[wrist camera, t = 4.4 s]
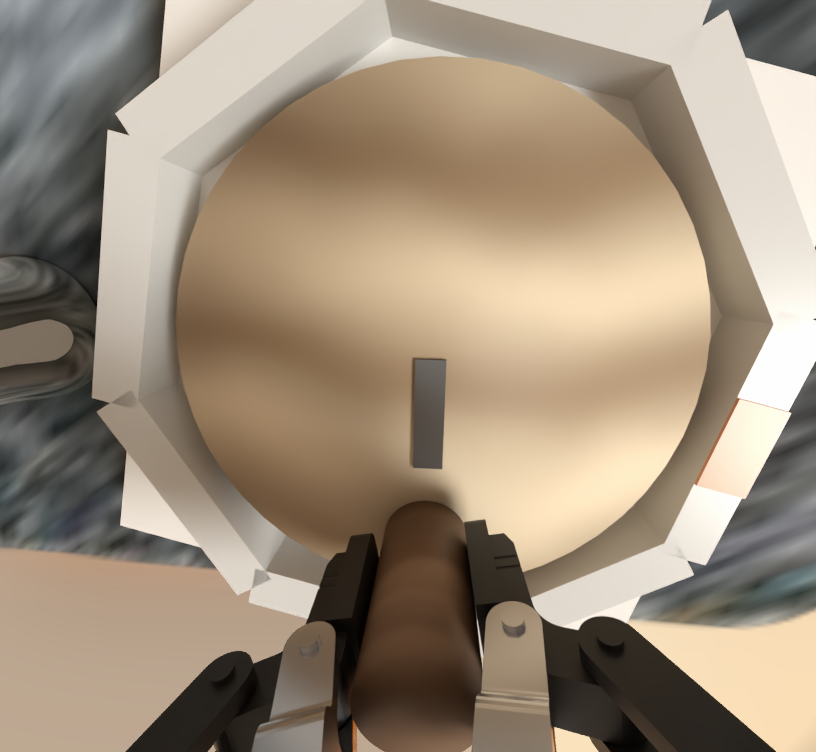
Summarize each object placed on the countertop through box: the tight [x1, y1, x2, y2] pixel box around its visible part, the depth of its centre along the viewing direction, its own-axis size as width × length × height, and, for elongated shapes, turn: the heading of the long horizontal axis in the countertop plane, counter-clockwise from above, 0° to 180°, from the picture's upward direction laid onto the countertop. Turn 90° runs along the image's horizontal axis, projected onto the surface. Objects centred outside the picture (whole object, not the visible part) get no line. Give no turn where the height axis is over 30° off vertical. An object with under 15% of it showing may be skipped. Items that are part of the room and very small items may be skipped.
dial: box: [176, 56, 711, 752], centre depth 11 cm, size 17×17×8 cm
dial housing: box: [92, 0, 816, 658], centre depth 15 cm, size 22×22×4 cm
